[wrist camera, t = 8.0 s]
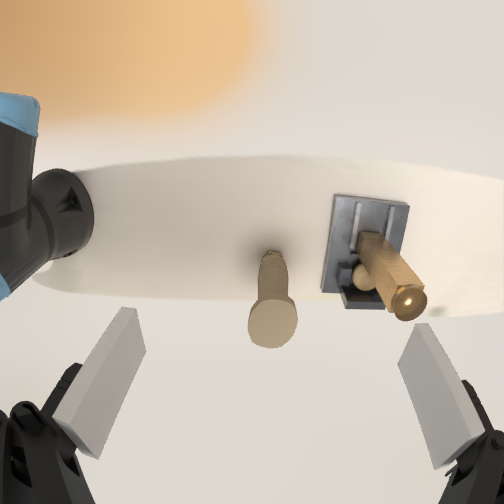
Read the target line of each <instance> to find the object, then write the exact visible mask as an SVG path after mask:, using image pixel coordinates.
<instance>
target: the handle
mask: <svg viewBox="0 0 504 504" xmlns="http://www.w3.org/2000/svg"><path fill="white" fill-rule="evenodd" d="M296 326H297V312H296V308H295V304H294V301H293V300H292V299H291V298H290V297H288V272H287V267H286V264H285V261H284V260H283V258H282V254H281V253H280V252H273V251H269V252H268V254H267V255H266V256H264V257H263V258H262V261H261V265H260V269H259V275H258V300H257V301H256V302H255V304H254V305H253V307H252V308H251V311H250V316H249V321H248V332H249V335H250V338H251V340H252V342H253V343H255V344H256V345H259V346H262V347H266V348H278V347H282V346H283V345H284V344H285V343H286V342H287V341H288V340H290V338H291V337H292V336H293V334H294V332H295V329H296Z"/></svg>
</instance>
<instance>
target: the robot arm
mask: <svg viewBox="0 0 504 504" xmlns="http://www.w3.org/2000/svg"><path fill="white" fill-rule="evenodd" d="M39 113H40V106H39V103H38V101H37V100H36V99H35V98H33V97H31V96H25V95H18V94H11V93H2V92H0V301H1V300H2V299H4V298H5V297H8V296H9V295H10V294H11V293H12V292H13V291H14V290H15V289H16V288H17V287H18V286H20V285H21V284H22V283H23V282H24V281H25V280H26V279H27V278H29V277H30V276H31V275H32V274H33V273H34V272H36V271H37V270H38V269H39V268H40V267H41V266H43V265H44V264H45V263H46V262H48V261H50V260H54V259H59V258H62V257H67V256H71V255H73V254H75V253H76V252H78V251H79V250H80V249H81V248H83V247H84V246H85V245H86V243H87V242H88V241H89V239H90V236H91V234H92V230H93V223H94V216H93V208H92V204H91V200H90V197H89V195H88V193H87V191H86V189H85V187H84V185H83V184H82V183H81V181H80V180H79V179H78V178H77V177H76V176H75V175H73V174H72V173H71V172H69V171H67V170H64V169H52V170H48V171H45V172H43V173H41V174H39V175H38V176H36V177H35V178H34V179H33V180H32V173H33V162H34V154H35V146H36V139H37V137H38V133H37V129H38V121H39ZM145 353H146V349H145V345H144V342H143V337H142V333H141V329H140V325H139V320H138V315H137V311H136V309H134V308H127V307H121V309H120V310H119V312H118V313H117V314H116V316H115V317H114V319H113V320H112V322H111V323H110V325H109V326H108V328H107V329H106V331H105V332H104V333H103V335H102V337H101V338H100V339H99V341H98V342H97V344H96V345H95V347H94V349H93V350H92V352H91V353H90V355H89V356H88V358H87V359H86V361H85V363H84V364H83V365H82V364H79V363H74V364H73V365H72V366H70V367H69V368H68V369H66V371H65V372H64V374H63V376H62V377H61V380H59V382H58V383H57V385H56V387H55V388H54V390H53V391H52V393H51V395H50V396H49V398H48V399H47V401H46V403H45V404H44V406H43V408H42V409H41V411H39V409H38V408H37V407H36V406H35V405H34V404H33V403H32V402H29V401H22V402H19V403H17V404H16V405H15V406H14V407H13V408H12V410H11V412H10V418H8V417H7V415H6V414H5V413H4V412H3V411H2V410H0V504H95V502H94V500H93V497H92V495H91V493H90V490H89V488H88V485H87V483H86V481H85V478H84V475H83V473H82V470H81V468H80V465H79V462H78V459H77V456H76V454H75V453H74V452H75V450H76V448H78V449H79V450H80V451H81V452H82V453H83V454H85V455H87V456H90V457H93V458H95V459H99V457H100V455H101V452H102V450H103V447H104V445H105V443H106V440H107V438H108V435H109V433H110V431H111V428H112V426H113V424H114V421H115V419H116V417H117V414H118V412H119V410H120V407H121V405H122V403H123V401H124V398H125V396H126V394H127V392H128V390H129V387H130V385H131V383H132V381H133V379H134V376H135V374H136V372H137V370H138V367H139V366H140V364H141V361H142V359H143V357H144V355H145ZM398 366H399V369H400V371H401V374H402V377H403V379H404V381H405V384H406V387H407V389H408V392H409V395H410V397H411V400H412V403H413V406H414V408H415V411H416V414H417V417H418V420H419V423H420V425H421V428H422V431H423V434H424V438H425V440H426V444H427V447H428V450H429V453H430V457H431V460H432V463H433V467H434V470H436V469H440V468H443V467H445V466H448V465H450V463H452V462H453V461H454V460H455V459H456V460H457V464H456V465H455V466H454V467H453V468H452V469H450V470H449V471H448V472H447V473H446V474H445V476H448V475H449V474H450V473H452V474H451V476H450V477H449V478H450V479H449V481H448V483H447V486H446V488H445V490H444V493H443V495H442V497H441V499H440V501H439V503H438V504H504V433H503V432H502V431H499V430H494V428H493V427H492V424H491V422H490V420H489V418H488V416H487V414H486V412H485V410H484V408H483V406H482V404H481V402H480V400H479V398H478V397H477V394H476V392H475V390H474V388H473V387H472V386H471V385H470V384H469V383H468V382H467V381H466V380H460V378H459V376H458V374H457V372H456V370H455V368H454V367H453V365H452V363H451V361H450V359H449V358H448V356H447V354H446V353H445V351H444V349H443V347H442V346H441V344H440V343H439V341H438V339H437V338H436V336H435V334H434V332H433V331H432V329H431V327H430V326H429V324H428V323H422V324H415V326H414V329H413V331H412V334H411V336H410V338H409V340H408V343H407V345H406V347H405V349H404V351H403V354H402V356H401V358H400V360H399V362H398Z"/></svg>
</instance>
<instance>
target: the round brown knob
mask: <svg viewBox="0 0 504 504" xmlns="http://www.w3.org/2000/svg"><path fill="white" fill-rule="evenodd" d="M352 280H353V283H354V285H355V286H356V287H357V288H358V289H360V290H363V291H369V290H371V289H373V288H374V287H375V285H374V283H373V281H372V280H371V278H370V276H369V274H368V272H367V271H366V269H365V267H364V265H363V264H362V263H361V264H359V265H357V266H356V267H355V269H354V271H353V273H352Z"/></svg>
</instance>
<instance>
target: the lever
mask: <svg viewBox="0 0 504 504" xmlns="http://www.w3.org/2000/svg"><path fill="white" fill-rule="evenodd" d="M356 253H357V255H358V257H359V258H360V260H361V262H362V264H363V265H364V267H365V269H366V271H367V272H368V274H369V276H370V278H371V280H372V281H373V283H374V285H375V287H376V289H377V291H378V292H379V294H380V296H381V298H382V300H383V302H384V304H385V306H386V308H387V309H388V312H390V313H395V315H396V317H397V318H398V319H399V320H402V321H410V320H413V319H415V318H417V317H418V316H419V315H420V314H421V313H422V312H423V311H424V309H425V308H426V305H427V296H426V295H425V293H424V292H423V289H424V287H425V286H424V284H423V283H422V282H421V281H420V279H419V278H418V277H417V275H416V274H415V273H414V272H413V270H412V269H411V268H410V267H409V265H408V264H407V263H406V262H405V261H404V259H403V258H402V257H401V256H400V255H399V253H398V252H397V251H396V250H395V249H394V248H393V246H392V245H391V244H390V243H389V242H388V241H387V239H386V238H385V237H384V236H383V235H382V234H381V233H373V232H361V231H360V235H359V241H358V246H357V251H356Z"/></svg>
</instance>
